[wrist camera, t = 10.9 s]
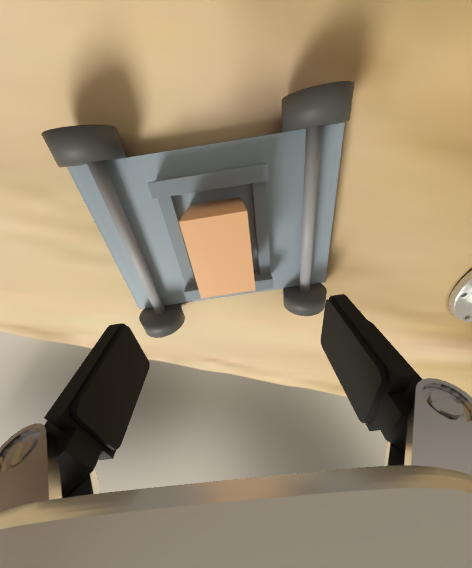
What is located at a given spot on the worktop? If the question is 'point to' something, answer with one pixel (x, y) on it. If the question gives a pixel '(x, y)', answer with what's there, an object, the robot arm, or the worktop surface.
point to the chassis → (212, 187)
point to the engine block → (219, 247)
